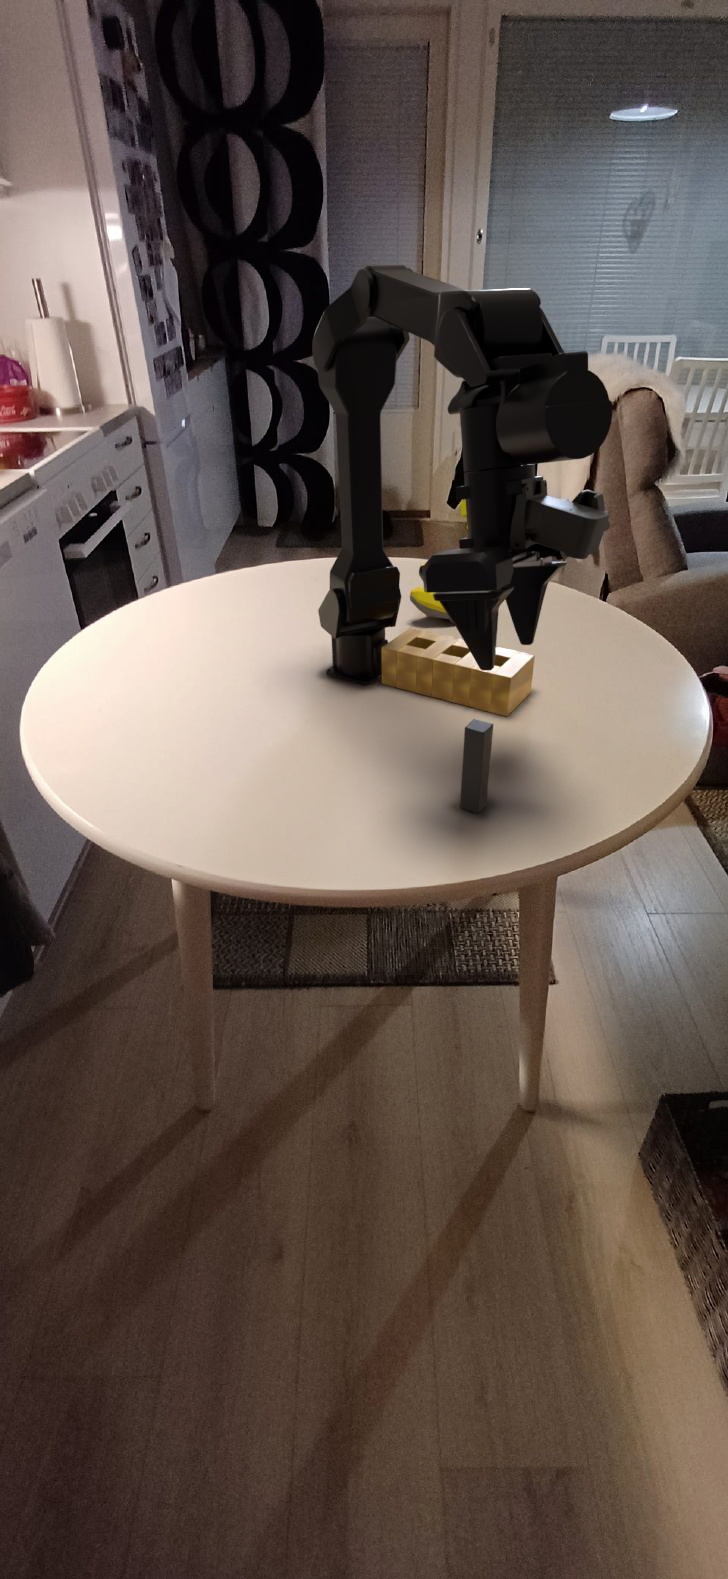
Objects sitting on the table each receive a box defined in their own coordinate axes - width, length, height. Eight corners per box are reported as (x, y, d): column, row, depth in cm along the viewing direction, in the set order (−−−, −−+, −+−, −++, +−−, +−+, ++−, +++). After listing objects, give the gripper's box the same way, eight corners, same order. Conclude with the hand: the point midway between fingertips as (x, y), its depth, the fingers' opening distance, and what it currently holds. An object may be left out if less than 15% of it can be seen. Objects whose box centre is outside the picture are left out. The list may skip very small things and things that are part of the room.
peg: (459, 807, 76) (464, 727, 70) (468, 797, 77) (473, 718, 72) (478, 814, 75) (484, 732, 70) (486, 803, 76) (493, 723, 71)
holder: (381, 683, 98) (381, 647, 95) (409, 663, 103) (409, 627, 100) (507, 716, 91) (510, 677, 88) (530, 692, 96) (535, 655, 93)
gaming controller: (407, 627, 113) (476, 631, 112) (408, 591, 110) (478, 594, 109) (419, 592, 126) (481, 594, 124) (420, 558, 123) (484, 560, 121)
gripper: (556, 463, 52) (561, 689, 58) (630, 451, 66) (628, 633, 72) (410, 480, 58) (428, 683, 63) (507, 466, 72) (515, 633, 78)
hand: (508, 656), depth 69 cm, fingers open, 9 cm apart
